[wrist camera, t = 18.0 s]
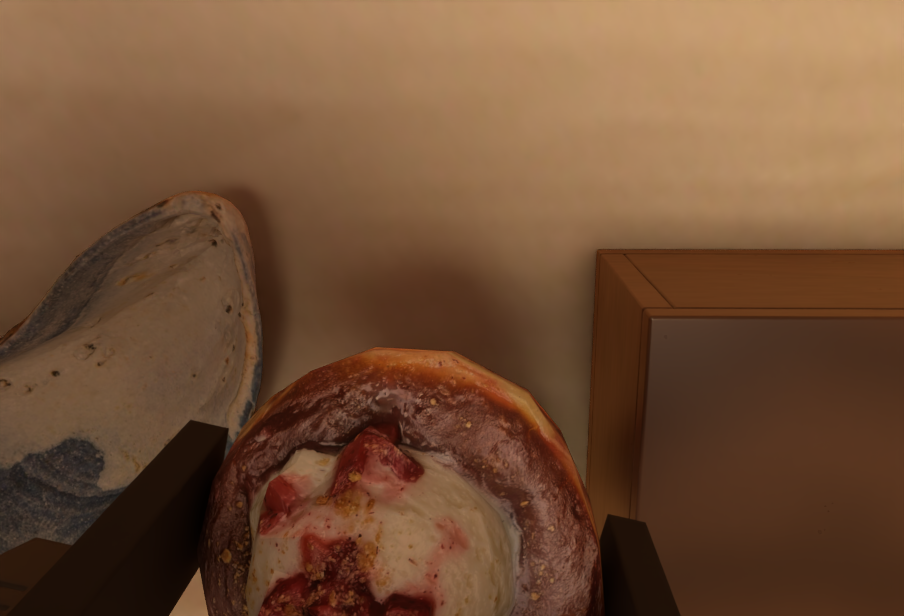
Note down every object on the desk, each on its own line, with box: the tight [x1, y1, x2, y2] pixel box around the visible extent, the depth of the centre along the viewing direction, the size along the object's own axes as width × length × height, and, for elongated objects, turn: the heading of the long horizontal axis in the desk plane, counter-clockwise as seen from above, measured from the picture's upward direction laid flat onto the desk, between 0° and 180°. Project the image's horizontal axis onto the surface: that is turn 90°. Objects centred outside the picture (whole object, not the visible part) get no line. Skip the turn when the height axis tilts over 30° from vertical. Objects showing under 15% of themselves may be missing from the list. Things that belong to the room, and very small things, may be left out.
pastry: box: [197, 347, 605, 616], centre depth 13 cm, size 8×8×5 cm
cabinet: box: [586, 250, 904, 616], centre depth 24 cm, size 16×14×9 cm
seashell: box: [0, 191, 263, 555], centre depth 26 cm, size 15×12×5 cm
